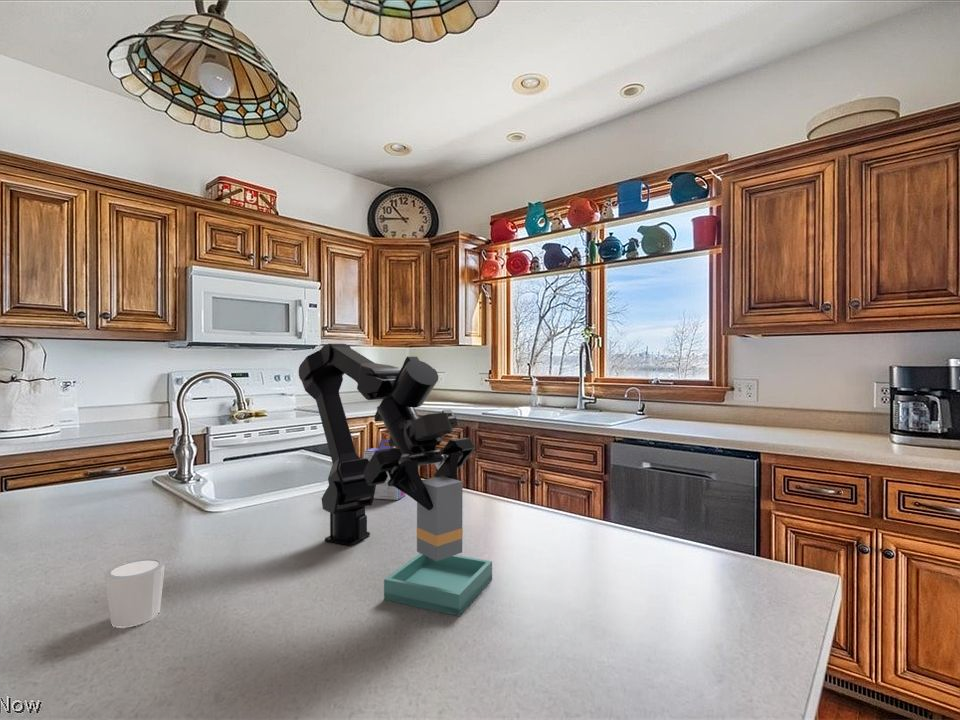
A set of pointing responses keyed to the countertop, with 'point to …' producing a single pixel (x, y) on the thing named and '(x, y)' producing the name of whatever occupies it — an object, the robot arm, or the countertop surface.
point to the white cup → (135, 591)
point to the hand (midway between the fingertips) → (445, 505)
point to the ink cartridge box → (383, 489)
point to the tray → (439, 583)
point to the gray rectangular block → (441, 519)
